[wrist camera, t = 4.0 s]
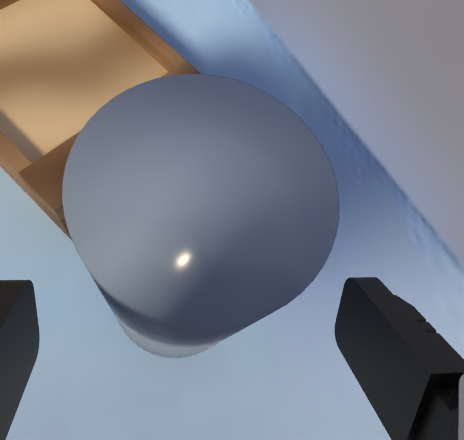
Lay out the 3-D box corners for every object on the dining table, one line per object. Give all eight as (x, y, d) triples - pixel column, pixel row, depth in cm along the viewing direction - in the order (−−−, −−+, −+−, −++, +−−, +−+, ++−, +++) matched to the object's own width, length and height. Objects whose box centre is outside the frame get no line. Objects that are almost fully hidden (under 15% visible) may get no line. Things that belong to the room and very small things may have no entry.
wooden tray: (-92, 69, 20) (-139, 9, 17) (59, -7, 23) (44, -68, 20) (71, 240, 18) (54, 210, 15) (208, 132, 22) (218, 89, 18)
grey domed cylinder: (95, 340, 17) (12, 284, 7) (135, 220, 19) (115, 44, 9) (224, 370, 17) (323, 358, 7) (248, 250, 20) (350, 114, 10)
